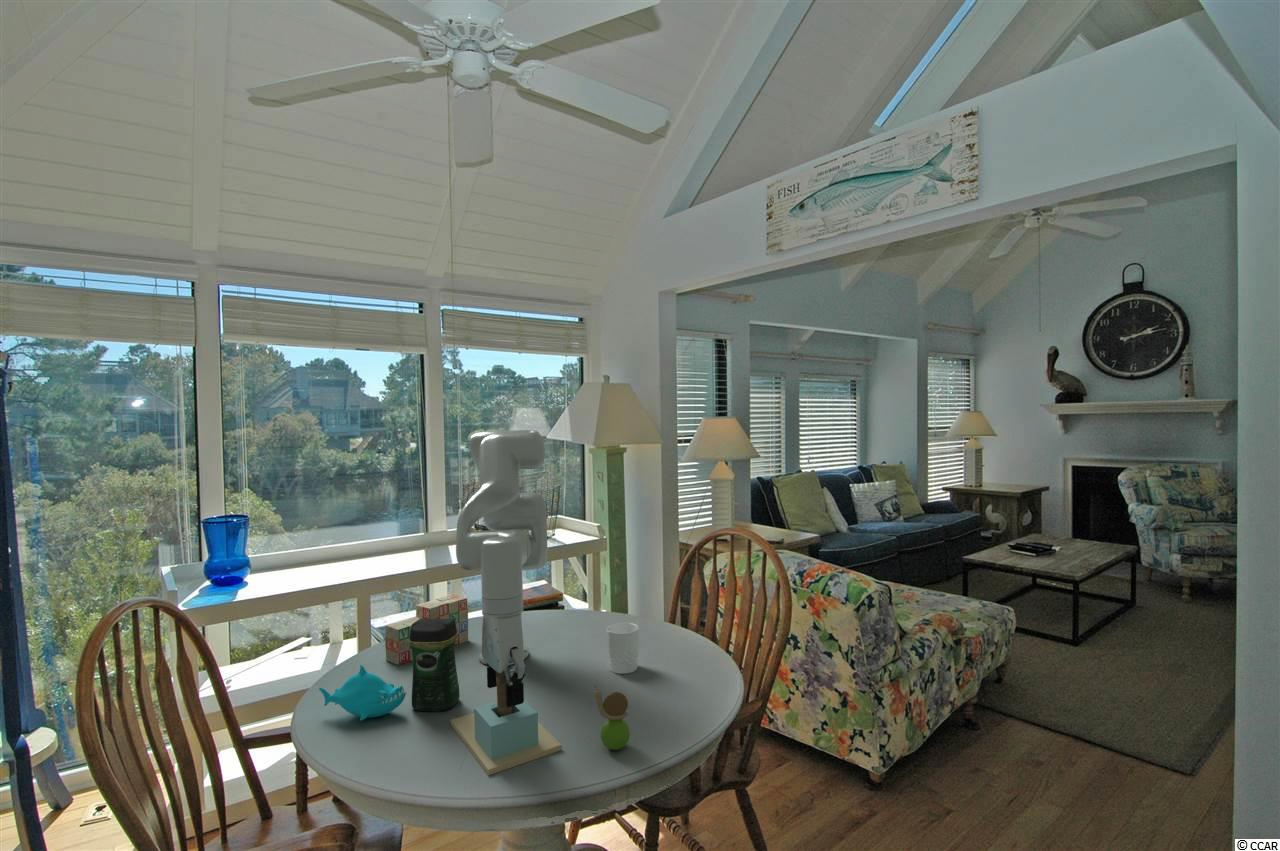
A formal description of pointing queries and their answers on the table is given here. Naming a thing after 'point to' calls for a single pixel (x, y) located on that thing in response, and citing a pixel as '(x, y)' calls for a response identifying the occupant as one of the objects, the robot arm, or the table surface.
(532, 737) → the shape sorter toy
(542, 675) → the table surface
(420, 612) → the stack of blocks
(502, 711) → the brown wooden rod
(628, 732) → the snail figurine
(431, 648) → the coffee jar
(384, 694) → the toy shark
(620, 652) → the white cup
